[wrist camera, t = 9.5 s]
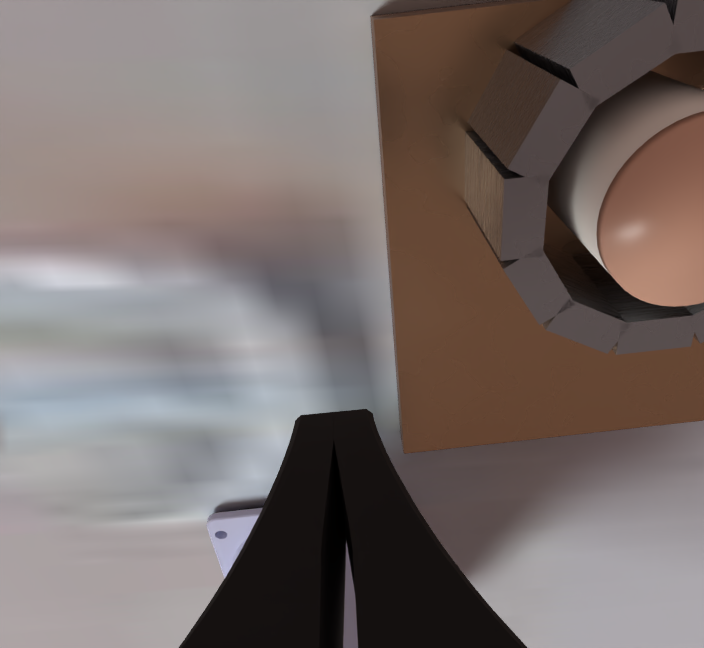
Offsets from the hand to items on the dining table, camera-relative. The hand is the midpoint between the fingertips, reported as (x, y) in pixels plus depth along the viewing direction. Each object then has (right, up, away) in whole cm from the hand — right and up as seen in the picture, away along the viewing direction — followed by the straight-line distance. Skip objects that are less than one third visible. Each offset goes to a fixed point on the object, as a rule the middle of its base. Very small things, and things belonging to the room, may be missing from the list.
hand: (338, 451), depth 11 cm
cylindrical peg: (+8, +7, +6) cm, 12 cm away
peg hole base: (+8, +5, +8) cm, 13 cm away
